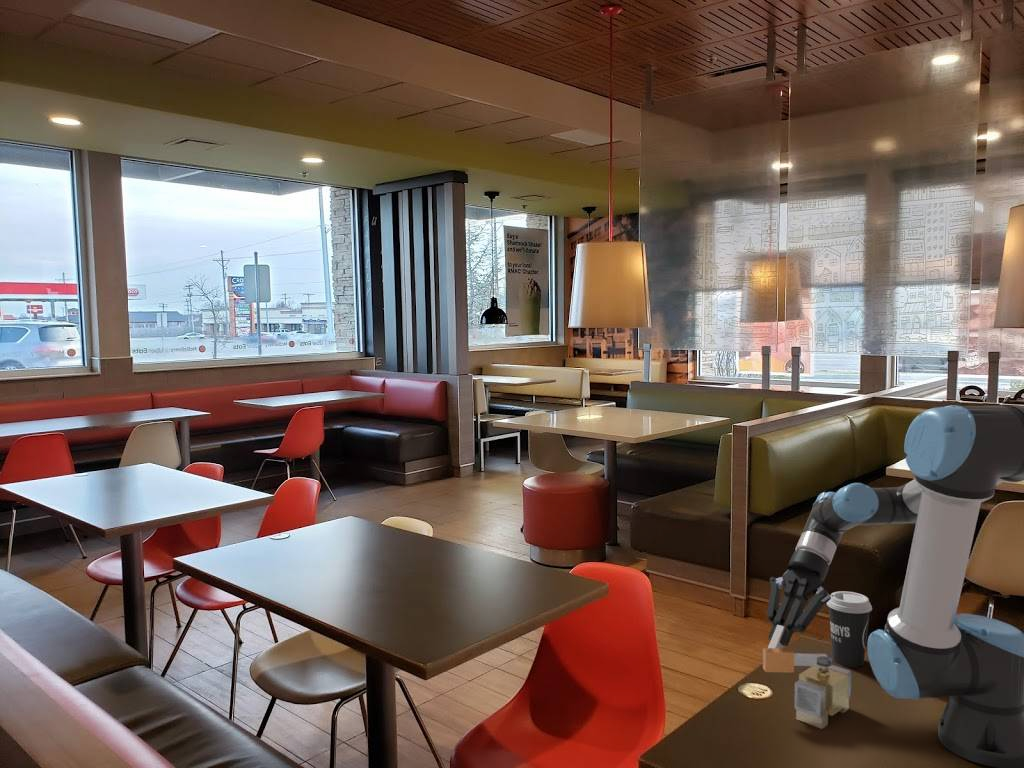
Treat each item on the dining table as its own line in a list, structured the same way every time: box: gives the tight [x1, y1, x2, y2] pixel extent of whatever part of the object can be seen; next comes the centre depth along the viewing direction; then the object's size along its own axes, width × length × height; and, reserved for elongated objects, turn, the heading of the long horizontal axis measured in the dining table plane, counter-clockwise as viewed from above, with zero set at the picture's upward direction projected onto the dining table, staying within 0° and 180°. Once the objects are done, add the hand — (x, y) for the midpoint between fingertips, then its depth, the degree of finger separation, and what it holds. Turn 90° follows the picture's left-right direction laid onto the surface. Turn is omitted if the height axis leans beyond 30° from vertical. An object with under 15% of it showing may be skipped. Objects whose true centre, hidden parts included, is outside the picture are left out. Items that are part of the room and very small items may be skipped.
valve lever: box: [762, 647, 833, 674], centre depth 153 cm, size 13×3×4 cm, turn 86°
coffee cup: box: [826, 590, 873, 668], centre depth 178 cm, size 10×10×15 cm
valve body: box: [793, 664, 852, 730], centre depth 153 cm, size 13×7×9 cm, turn 132°
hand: (771, 657), depth 156 cm, fingers closed
